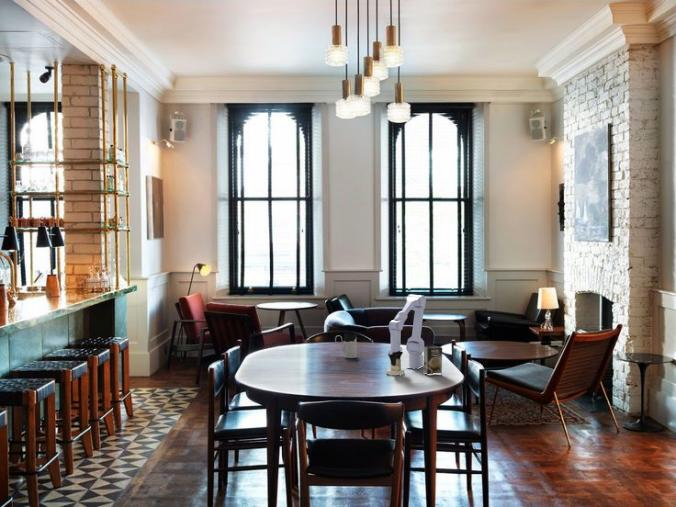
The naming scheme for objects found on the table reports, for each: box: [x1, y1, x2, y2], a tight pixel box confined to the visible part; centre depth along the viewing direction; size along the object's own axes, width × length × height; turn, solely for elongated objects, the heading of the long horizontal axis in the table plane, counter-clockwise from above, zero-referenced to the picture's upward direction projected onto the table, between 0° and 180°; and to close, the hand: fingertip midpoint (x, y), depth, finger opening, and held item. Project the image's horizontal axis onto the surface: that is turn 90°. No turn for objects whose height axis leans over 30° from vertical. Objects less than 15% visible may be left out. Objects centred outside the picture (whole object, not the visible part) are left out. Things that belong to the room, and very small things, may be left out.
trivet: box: [385, 367, 405, 376], centre depth 385 cm, size 8×8×3 cm
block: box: [390, 358, 402, 371], centre depth 385 cm, size 4×4×6 cm
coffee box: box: [422, 345, 443, 374], centre depth 384 cm, size 9×6×16 cm
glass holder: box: [334, 332, 358, 359], centre depth 434 cm, size 9×14×15 cm, turn 89°
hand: (395, 364), depth 385 cm, fingers closed on block, 4 cm apart
